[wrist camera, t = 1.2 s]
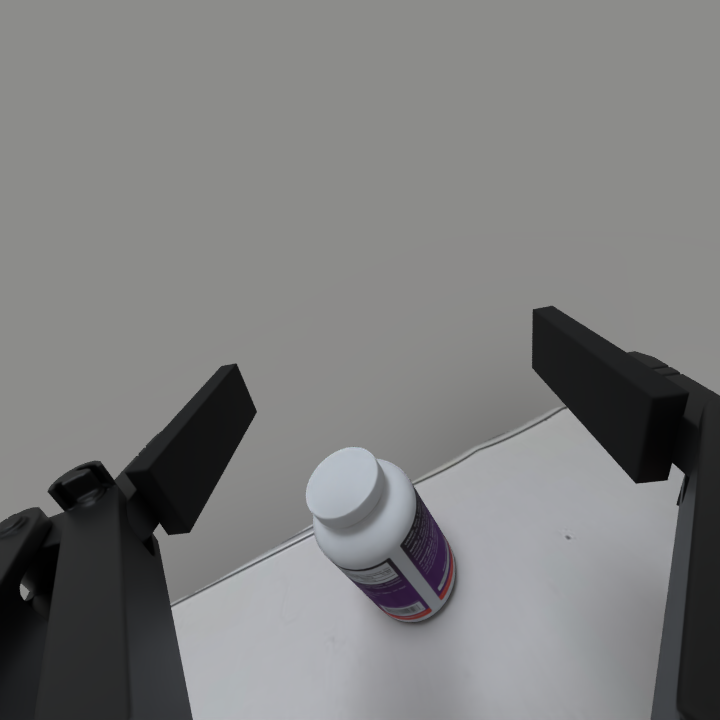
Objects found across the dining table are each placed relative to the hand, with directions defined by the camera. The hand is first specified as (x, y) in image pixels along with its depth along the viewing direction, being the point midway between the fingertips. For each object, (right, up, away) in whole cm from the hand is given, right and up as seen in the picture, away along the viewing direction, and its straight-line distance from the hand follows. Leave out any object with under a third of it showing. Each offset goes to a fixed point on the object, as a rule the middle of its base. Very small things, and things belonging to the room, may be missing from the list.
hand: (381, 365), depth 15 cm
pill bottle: (+4, -19, +15) cm, 25 cm away
